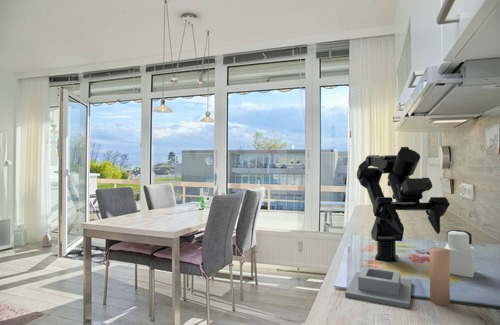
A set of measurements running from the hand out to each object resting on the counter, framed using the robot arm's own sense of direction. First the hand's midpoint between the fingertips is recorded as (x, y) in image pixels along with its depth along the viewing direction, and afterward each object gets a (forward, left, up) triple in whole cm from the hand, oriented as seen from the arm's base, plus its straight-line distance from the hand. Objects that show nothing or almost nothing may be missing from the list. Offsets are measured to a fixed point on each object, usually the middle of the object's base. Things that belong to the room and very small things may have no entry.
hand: (420, 232), depth 83 cm
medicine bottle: (-17, +10, -14) cm, 25 cm away
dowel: (+8, +4, -14) cm, 16 cm away
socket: (+7, -9, -14) cm, 18 cm away
